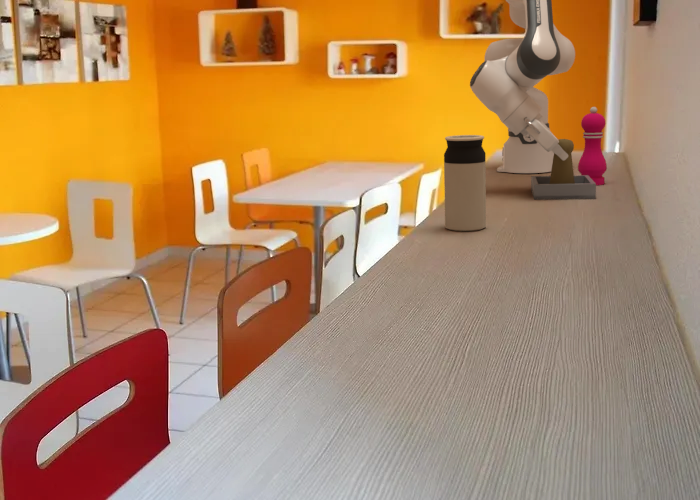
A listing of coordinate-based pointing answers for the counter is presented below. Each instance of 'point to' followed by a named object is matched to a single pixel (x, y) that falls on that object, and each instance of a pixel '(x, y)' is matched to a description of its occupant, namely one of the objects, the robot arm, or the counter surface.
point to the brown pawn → (563, 165)
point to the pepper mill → (593, 147)
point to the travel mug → (465, 183)
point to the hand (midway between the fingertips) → (565, 157)
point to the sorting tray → (563, 188)
